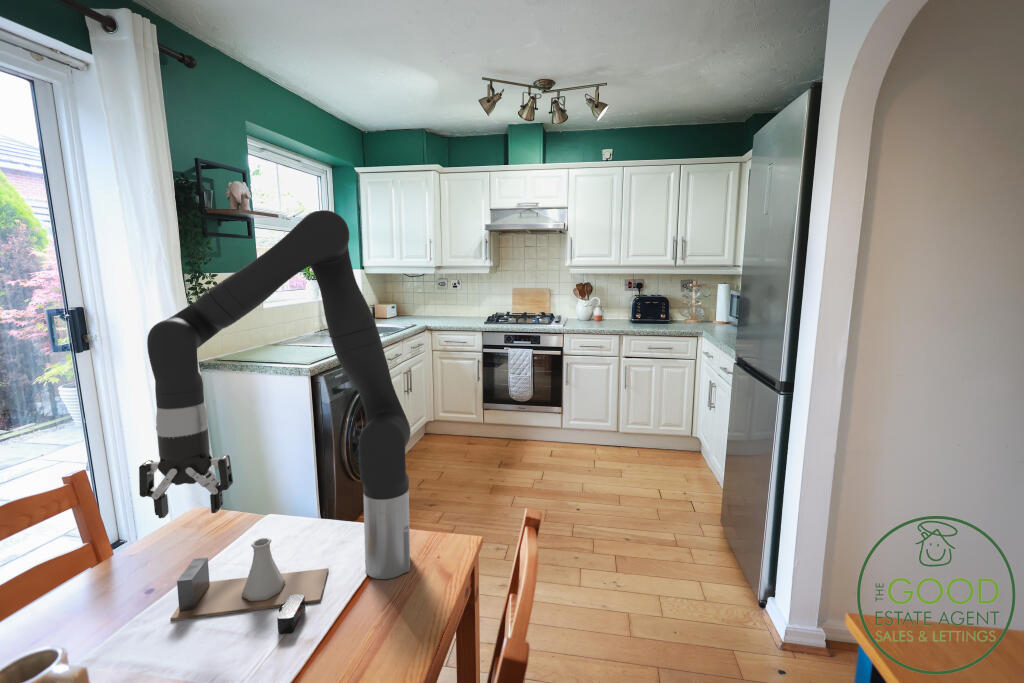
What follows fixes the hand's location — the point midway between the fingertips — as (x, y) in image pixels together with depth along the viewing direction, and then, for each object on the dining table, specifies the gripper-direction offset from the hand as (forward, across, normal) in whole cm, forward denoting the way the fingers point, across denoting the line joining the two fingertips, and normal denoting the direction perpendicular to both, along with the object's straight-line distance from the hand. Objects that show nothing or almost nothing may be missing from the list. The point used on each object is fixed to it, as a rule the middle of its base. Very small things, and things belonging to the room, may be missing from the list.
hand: (189, 513), depth 86 cm
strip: (+18, -10, 0) cm, 20 cm away
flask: (+17, -12, 0) cm, 21 cm away
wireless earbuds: (+18, -18, +8) cm, 27 cm away
